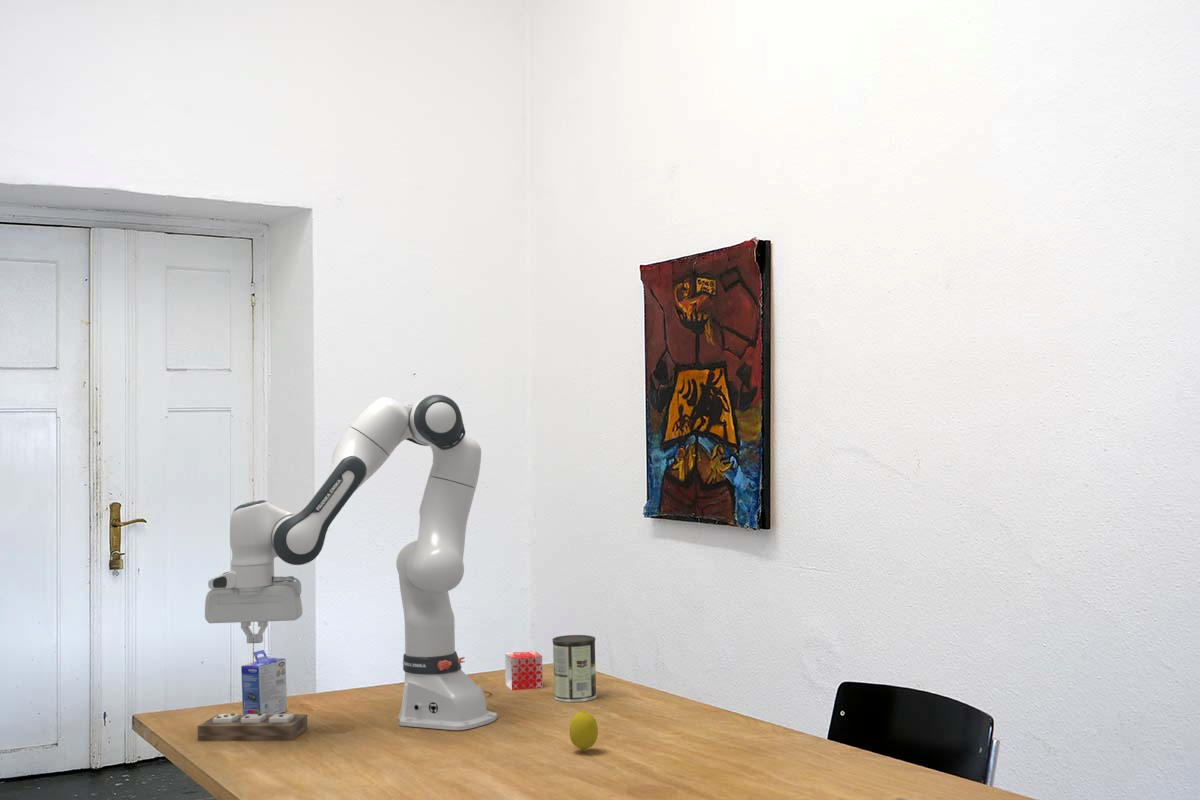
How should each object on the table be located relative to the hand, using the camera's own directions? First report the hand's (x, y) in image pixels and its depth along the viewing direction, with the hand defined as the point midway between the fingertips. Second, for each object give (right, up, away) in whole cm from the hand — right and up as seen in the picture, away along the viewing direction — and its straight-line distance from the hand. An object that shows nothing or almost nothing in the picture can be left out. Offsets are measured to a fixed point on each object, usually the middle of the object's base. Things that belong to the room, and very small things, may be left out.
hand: (254, 642), depth 238 cm
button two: (0, -18, -1) cm, 18 cm away
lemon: (+70, -17, -20) cm, 75 cm away
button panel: (0, -19, -1) cm, 19 cm away
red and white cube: (+54, -21, +44) cm, 73 cm away
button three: (-6, -18, -1) cm, 19 cm away
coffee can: (+67, -20, +29) cm, 76 cm away
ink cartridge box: (-3, -20, +16) cm, 26 cm away
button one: (+6, -18, -1) cm, 19 cm away
